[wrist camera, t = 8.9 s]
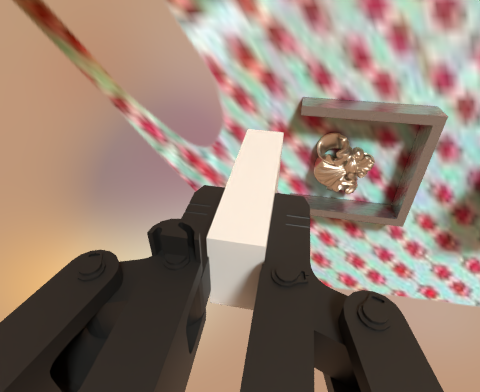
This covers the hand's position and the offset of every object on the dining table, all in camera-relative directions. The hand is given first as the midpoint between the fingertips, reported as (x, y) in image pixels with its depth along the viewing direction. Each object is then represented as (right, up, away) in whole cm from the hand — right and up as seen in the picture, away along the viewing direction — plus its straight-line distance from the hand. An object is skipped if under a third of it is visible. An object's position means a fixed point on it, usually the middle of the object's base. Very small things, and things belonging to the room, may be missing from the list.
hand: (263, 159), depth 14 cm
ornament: (+12, +3, +25) cm, 28 cm away
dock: (+13, +3, +24) cm, 27 cm away
